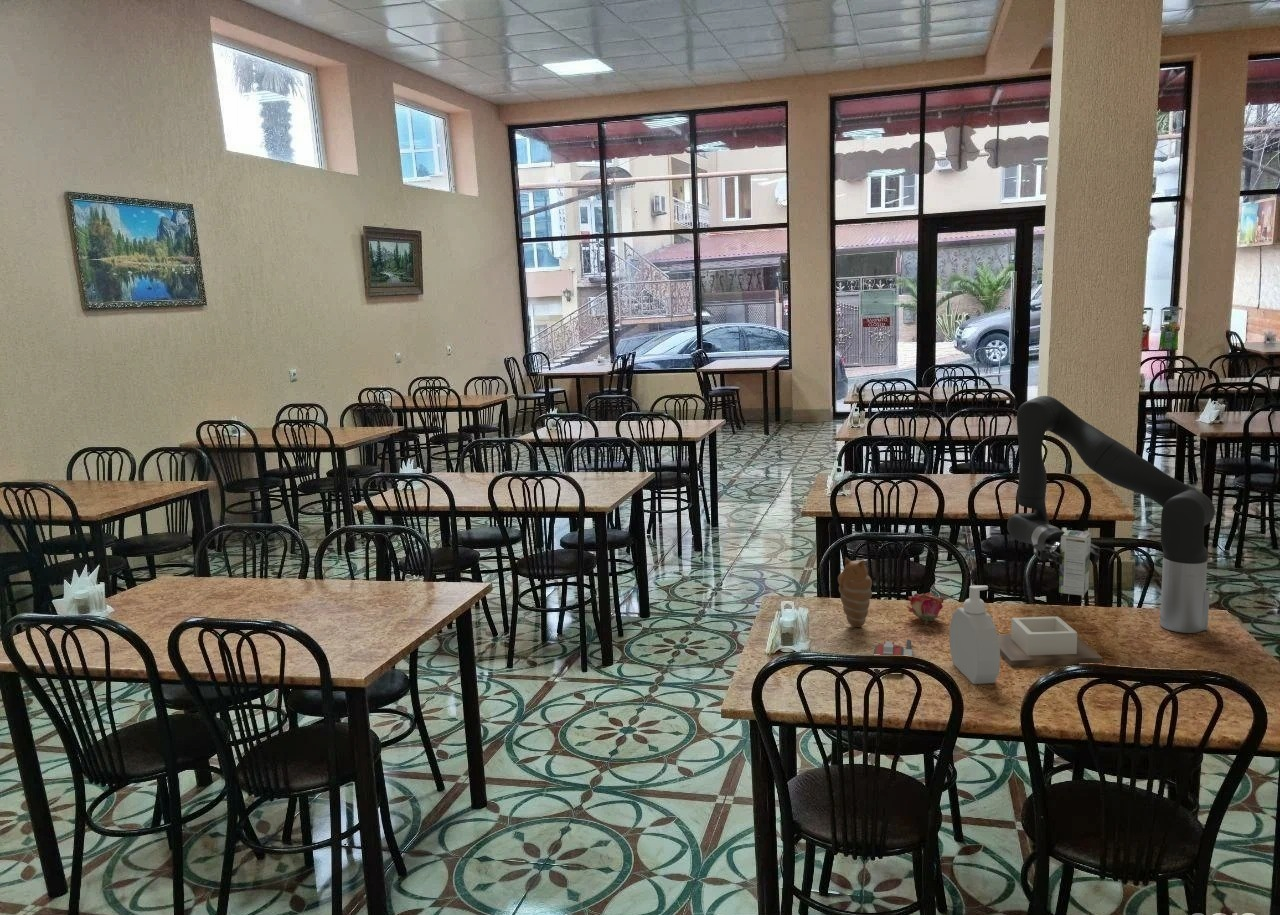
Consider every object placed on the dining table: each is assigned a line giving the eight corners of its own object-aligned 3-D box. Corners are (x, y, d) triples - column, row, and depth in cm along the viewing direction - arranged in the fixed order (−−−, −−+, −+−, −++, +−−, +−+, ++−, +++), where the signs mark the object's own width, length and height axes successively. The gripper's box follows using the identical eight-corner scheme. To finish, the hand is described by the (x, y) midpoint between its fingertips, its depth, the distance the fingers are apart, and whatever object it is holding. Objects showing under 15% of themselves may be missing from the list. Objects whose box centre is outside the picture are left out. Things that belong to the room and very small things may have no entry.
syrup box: (1063, 586, 231) (1064, 529, 229) (1089, 589, 228) (1091, 531, 225) (1058, 593, 226) (1059, 535, 224) (1085, 596, 223) (1086, 537, 221)
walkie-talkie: (912, 679, 206) (913, 646, 225) (912, 660, 205) (913, 628, 224) (871, 676, 209) (876, 644, 227) (871, 657, 208) (876, 626, 227)
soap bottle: (1001, 687, 199) (1003, 597, 196) (977, 689, 199) (978, 599, 195) (971, 658, 215) (972, 575, 211) (948, 660, 214) (949, 576, 211)
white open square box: (1057, 636, 221) (1058, 616, 221) (1076, 653, 211) (1077, 632, 210) (1011, 638, 222) (1011, 617, 221) (1027, 655, 211) (1028, 634, 210)
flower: (949, 622, 233) (949, 592, 236) (913, 617, 233) (913, 586, 236) (935, 632, 242) (935, 602, 245) (900, 626, 242) (901, 597, 245)
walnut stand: (1072, 638, 224) (1072, 632, 224) (1102, 664, 208) (1102, 657, 208) (987, 640, 225) (987, 634, 225) (1010, 666, 209) (1011, 660, 209)
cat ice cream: (833, 628, 238) (832, 559, 235) (848, 619, 244) (847, 552, 241) (864, 635, 232) (864, 565, 229) (879, 625, 238) (879, 557, 235)
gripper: (1023, 528, 239) (1048, 545, 223) (1080, 526, 239) (1109, 543, 223) (1023, 557, 241) (1047, 576, 225) (1080, 554, 240) (1108, 573, 224)
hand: (1078, 559), depth 224 cm, fingers closed on syrup box, 8 cm apart
